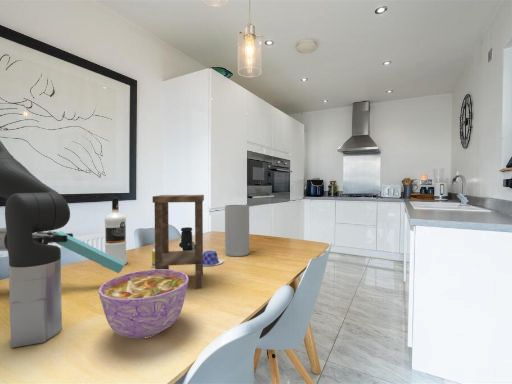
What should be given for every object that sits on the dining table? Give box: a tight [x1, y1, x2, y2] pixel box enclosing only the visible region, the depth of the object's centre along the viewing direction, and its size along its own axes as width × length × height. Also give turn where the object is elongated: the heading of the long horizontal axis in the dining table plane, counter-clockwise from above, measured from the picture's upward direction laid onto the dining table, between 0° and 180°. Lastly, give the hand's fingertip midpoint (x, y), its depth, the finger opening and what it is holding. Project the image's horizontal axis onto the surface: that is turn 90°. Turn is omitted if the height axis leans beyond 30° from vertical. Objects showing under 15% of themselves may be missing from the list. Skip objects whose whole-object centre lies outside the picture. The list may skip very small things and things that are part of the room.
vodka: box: [104, 197, 128, 264], centre depth 116 cm, size 9×9×30 cm
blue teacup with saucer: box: [203, 250, 224, 267], centre depth 120 cm, size 12×12×5 cm
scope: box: [178, 226, 195, 251], centre depth 132 cm, size 8×14×10 cm
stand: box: [152, 194, 205, 290], centre depth 95 cm, size 16×16×32 cm
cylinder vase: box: [224, 204, 250, 258], centre depth 135 cm, size 12×12×25 cm
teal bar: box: [54, 230, 127, 274], centre depth 90 cm, size 24×3×3 cm, turn 100°
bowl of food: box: [98, 269, 190, 339], centre depth 64 cm, size 20×20×12 cm
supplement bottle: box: [151, 243, 155, 268], centre depth 115 cm, size 5×5×10 cm
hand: (69, 237), depth 89 cm, fingers closed on teal bar, 3 cm apart
